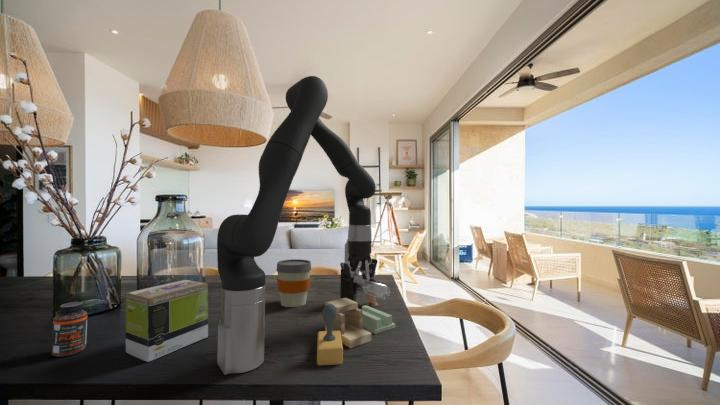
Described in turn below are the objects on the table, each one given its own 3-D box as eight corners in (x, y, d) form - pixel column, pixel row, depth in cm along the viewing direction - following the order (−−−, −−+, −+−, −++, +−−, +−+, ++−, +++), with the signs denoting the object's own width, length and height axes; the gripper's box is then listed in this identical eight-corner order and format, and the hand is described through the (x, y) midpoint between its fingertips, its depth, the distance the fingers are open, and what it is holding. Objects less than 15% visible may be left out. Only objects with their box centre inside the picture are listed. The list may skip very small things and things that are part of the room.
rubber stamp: (317, 345, 76) (318, 298, 76) (340, 344, 77) (340, 297, 77) (316, 365, 66) (317, 311, 67) (342, 364, 67) (343, 310, 67)
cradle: (375, 334, 83) (375, 321, 83) (347, 320, 93) (347, 309, 93) (395, 327, 88) (395, 315, 88) (367, 314, 98) (367, 304, 98)
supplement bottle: (55, 360, 67) (57, 310, 67) (47, 353, 70) (49, 305, 70) (90, 350, 72) (91, 303, 72) (81, 344, 75) (82, 298, 75)
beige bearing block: (350, 348, 74) (350, 314, 75) (324, 332, 84) (325, 302, 84) (371, 340, 79) (371, 308, 79) (345, 326, 88) (345, 297, 88)
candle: (353, 305, 107) (354, 236, 107) (339, 304, 108) (340, 235, 108) (356, 301, 112) (357, 234, 112) (343, 300, 113) (343, 234, 113)
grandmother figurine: (382, 304, 109) (383, 269, 109) (377, 307, 105) (378, 271, 106) (364, 301, 113) (365, 267, 113) (359, 303, 109) (359, 269, 110)
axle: (390, 298, 87) (390, 284, 87) (380, 300, 85) (380, 286, 85) (360, 288, 98) (360, 276, 98) (350, 290, 96) (350, 277, 96)
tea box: (185, 330, 84) (186, 278, 84) (208, 338, 79) (210, 282, 80) (123, 353, 71) (125, 290, 71) (146, 364, 66) (148, 297, 66)
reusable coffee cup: (299, 296, 118) (300, 258, 119) (317, 303, 109) (318, 262, 109) (269, 302, 110) (270, 261, 110) (286, 311, 101) (287, 266, 101)
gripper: (369, 236, 103) (368, 286, 103) (334, 239, 94) (334, 293, 94) (384, 238, 97) (383, 291, 97) (348, 241, 88) (348, 299, 88)
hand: (359, 292), depth 95 cm, fingers closed on axle, 4 cm apart
